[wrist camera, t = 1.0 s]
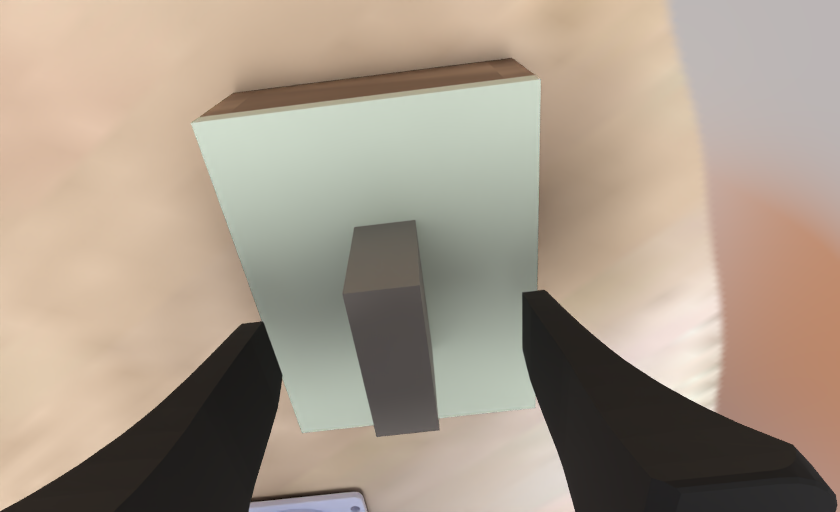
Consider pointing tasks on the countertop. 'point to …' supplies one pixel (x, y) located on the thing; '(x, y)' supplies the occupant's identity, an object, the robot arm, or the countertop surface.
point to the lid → (388, 247)
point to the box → (369, 86)
